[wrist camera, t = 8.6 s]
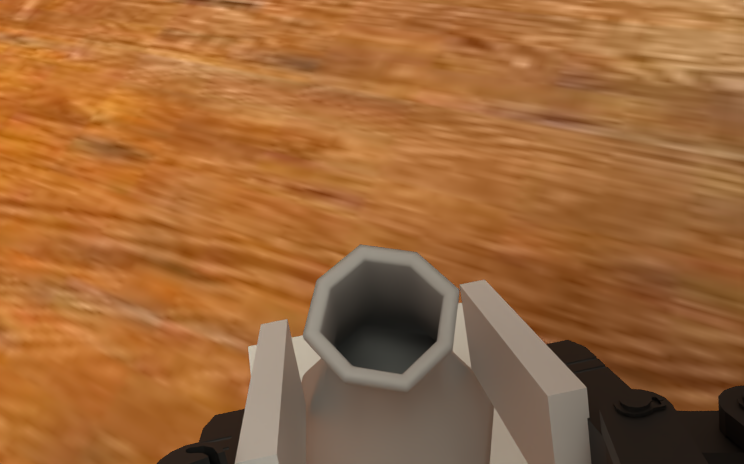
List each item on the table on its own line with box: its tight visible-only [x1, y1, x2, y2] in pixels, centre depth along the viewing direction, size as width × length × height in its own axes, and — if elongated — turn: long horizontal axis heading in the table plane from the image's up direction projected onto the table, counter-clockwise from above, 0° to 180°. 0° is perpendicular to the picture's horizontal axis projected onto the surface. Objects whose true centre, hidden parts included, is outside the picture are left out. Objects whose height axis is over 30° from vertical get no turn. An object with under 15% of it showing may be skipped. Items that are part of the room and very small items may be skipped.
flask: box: [301, 245, 494, 464], centre depth 17 cm, size 7×7×10 cm
